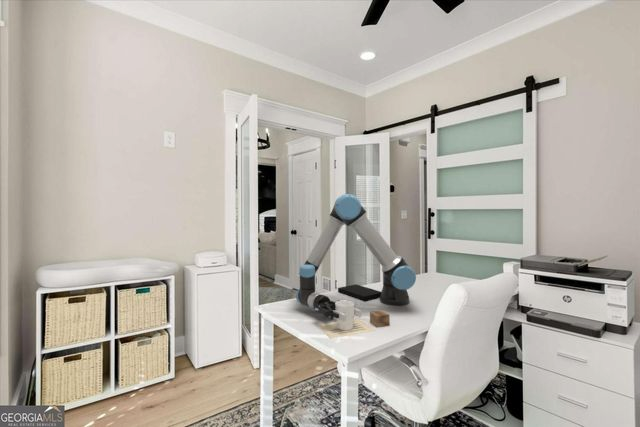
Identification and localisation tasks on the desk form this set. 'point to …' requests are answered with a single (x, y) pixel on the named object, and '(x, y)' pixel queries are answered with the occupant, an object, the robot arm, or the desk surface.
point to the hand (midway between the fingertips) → (352, 316)
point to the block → (379, 318)
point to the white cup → (348, 310)
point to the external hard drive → (360, 292)
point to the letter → (334, 332)
